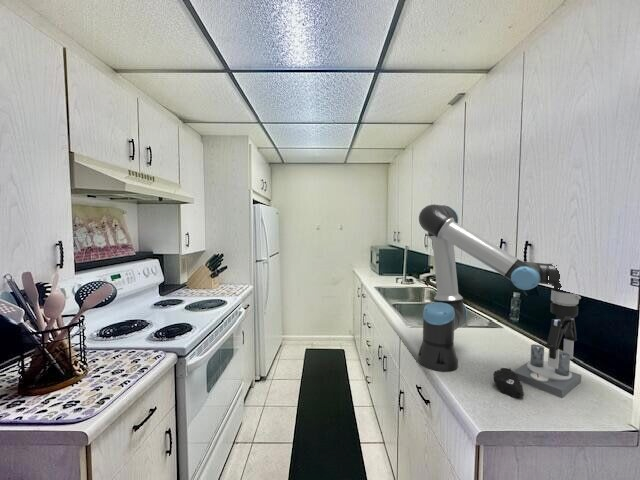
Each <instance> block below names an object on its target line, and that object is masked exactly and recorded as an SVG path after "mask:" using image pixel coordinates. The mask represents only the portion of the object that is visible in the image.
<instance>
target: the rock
mask: <svg viewBox="0 0 640 480" xmlns="http://www.w3.org/2000/svg"><path fill="white" fill-rule="evenodd" d="M493 382H494V383H495V386H496V387H497V389H498V392H500V393H502V394H507V395H508V396H509V397H514V398H515V397H516V398H517V397H525V393H524V389H523V385H522V384H521V383H522V382H521V381H519V379H518V376H517V374H516V373H514V372H513V370H512V369H511V368H507V367H501V368H500V369H499V370H497V369H496V371H494V372H493Z"/></svg>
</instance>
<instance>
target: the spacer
mask: <svg viewBox="0 0 640 480" xmlns="http://www.w3.org/2000/svg"><path fill="white" fill-rule="evenodd" d="M544 359H545V347H544V346H543V345H540V344H534V343H533V344H531V345H530V360H529V361H530V364H531V365H533V366H535V367H543V365H544Z"/></svg>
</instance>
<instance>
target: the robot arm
mask: <svg viewBox="0 0 640 480" xmlns="http://www.w3.org/2000/svg"><path fill="white" fill-rule="evenodd" d="M418 222H419V225H420V227H421V228H422V229H423V231H425V232H427V237H428V238H429V239H430V240H431V242H432V251H433V262H434V271H435V272H434V273H435V274H434V275H435V281H436V292H437V294H436V295H435V296H434V298H433V300H434V301H433V302H430V303H428V304H425V306H424V307H423V312H422V318H423V319H422V343H421V345H420V348H419V350H418V353H417V354H418V355H417V361H418V363H419V364H420V365H422V366H423V367H425V368H427V369H430V370H434V371H438V372H439V371H440V372H451V371H454V370H455V371H456V369H458V366H459V359H458V357H457V353H456V350H455V346H454V342H455V331H456V330H457V329H459V328H460V327H461V326H462V325H464V323H465V322H466V321H467V318H468V309H467V307H466V305H465V304H464V297H463V296H462V295H461V294H460V293H459V285H458V277H457V276H458V275H457V264H456V256H455V255H456V254H455V247H456V248H458V249H460V250H461V251H463V252H465V253H466V254H468V255H469V256H471V257H472V258H474V259H475V260H478V261H479V262H481V263H482V264H483V265H485V266H487V267H489V268H490V269H492V270H493V271H495V272H497V273H498V274H500V275H502V276H503V277H504V278H506V279H507V280H509V281H511V283H512V284H513V285H514V287H516V288H517V289H519V290H522V291H529V290H532V289H534V288H536V287H537V286H538V285H540V284H541V285H548V286H549V285H550V286H551V294H550V301H551V302H550V310H549V311H550V312H551V314H554V315H555V319H554V318H552V319H551V323H550V328H549V332H548V337H547V340H546V341H547V342H546V344H545V348H547V349H548V354H547V355H548V358H547V360H548V361H547V362H548V366H550V367H553V368H556V369H558V363H559V352H560V349H559V348H560V344H561V342H562V338H563V336H564V338H563V350H562V352H564V353H567V354H569V355H570V360H573V359H574V346H575V345H574V343H575V342H577V341H578V338H577V337H578V336H577V328H576V322H575V318H576V317H578V315H579V306H578V304H579V302H580V300H581V299H582V297H581V296H580V294H579V295H576V294H572V293H570V292H566V291H563V290H560V288H561V287H562V286H561V284H560V283H559V282H560V281H559V279H560V274H559V271H558V270H557V268H555V266H553V265H552V264H553V263H541V262H533V261H531V262H530V261H525V260H524V261H523V260H521V259H519V258H517V257H516V256H515V255H512V254H510V253H509V252H507V251H505V250H504V249H502V248H500V247H499V246H497V245H495V244H493V243H492V242H490V241H488V240H486V239H485V238H483V237H482V236H480V235H478V234H477V233H474V232H473V231H471V230H469V229H468V228H466V227H465V226H463V225H461V224H459V216H458V213H457V211H456V210H455V209H454V208H452V207H451V206H449V205H446V204H445V205H442V204H441V205H440V204H429V205H426V206H425V207H423V209H421V211H419V214H418ZM549 266H550V267H549ZM556 266H557V265H556ZM548 276H549V280H548ZM548 283H549V284H548ZM552 286H554V288H552ZM558 288H559V289H558Z"/></svg>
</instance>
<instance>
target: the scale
mask: <svg viewBox="0 0 640 480" xmlns="http://www.w3.org/2000/svg"><path fill="white" fill-rule="evenodd" d="M512 371H513V372H514V373H516V374H517V376H518V379H519V381H520V383H523V384H526V385H528V386H531V387H533V388H536V389H538V390H541V391H544V392H546V393H549V394H551V395H554V396H556V397H559V398H560V399H562V398H563V397H565V396H566V395H567V394H569V393H570V392H571V391H573V389H574V388H575V387H577V386H578V385H579V384H580V383H581V382H582V374H580V373H577V372H575V371H572V370H569V376H561V375H558V374H556V373H555V368H553V367H550V366H548V361H544V365H543V367H535V366H533V365H531V364H530V360H529V361H528V362H525V363H524V364H522V365H521V366H518V367H516V368H515V369H513V370H512Z"/></svg>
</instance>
